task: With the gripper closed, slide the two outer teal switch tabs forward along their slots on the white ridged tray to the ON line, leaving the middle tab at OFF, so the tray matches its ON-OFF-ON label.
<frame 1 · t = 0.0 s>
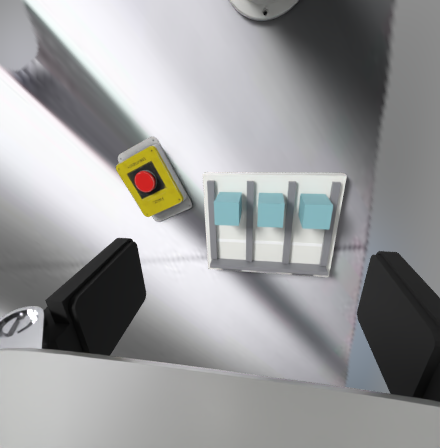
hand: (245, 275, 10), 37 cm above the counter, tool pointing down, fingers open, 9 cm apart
tab 1: (228, 208, 43), point 5 cm above the counter, slide at 0.0 cm
tab 3: (314, 210, 41), point 5 cm above the counter, slide at 0.0 cm
emergency button: (157, 181, 50), on the counter
tab 2: (270, 209, 42), point 5 cm above the counter, slide at 0.0 cm
white ridged tray: (268, 223, 49), on the counter
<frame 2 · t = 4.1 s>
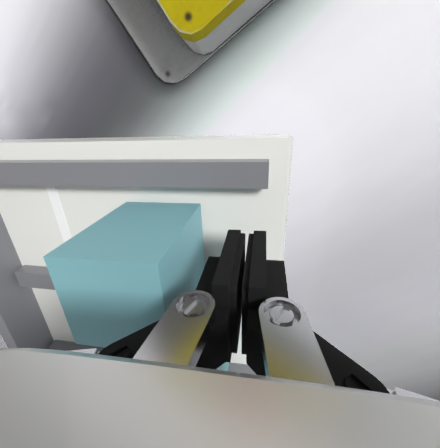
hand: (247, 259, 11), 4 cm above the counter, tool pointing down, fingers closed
tab 1: (145, 265, 11), point 5 cm above the counter, slide at 1.3 cm, touching gripper
tab 2: (186, 374, 14), point 5 cm above the counter, slide at 0.0 cm
white ridged tray: (143, 301, 19), on the counter
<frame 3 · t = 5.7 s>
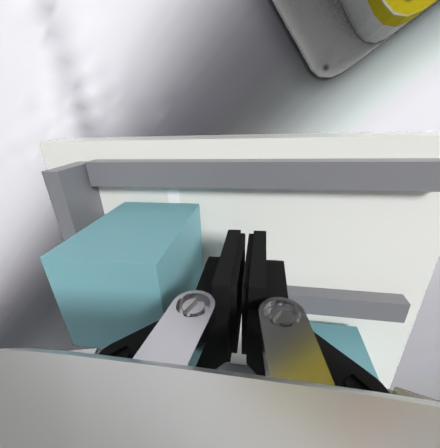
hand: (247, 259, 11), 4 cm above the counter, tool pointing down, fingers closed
tab 1: (143, 265, 11), point 5 cm above the counter, slide at 8.5 cm, touching gripper
tab 2: (324, 394, 13), point 5 cm above the counter, slide at 0.0 cm
white ridged tray: (236, 310, 18), on the counter
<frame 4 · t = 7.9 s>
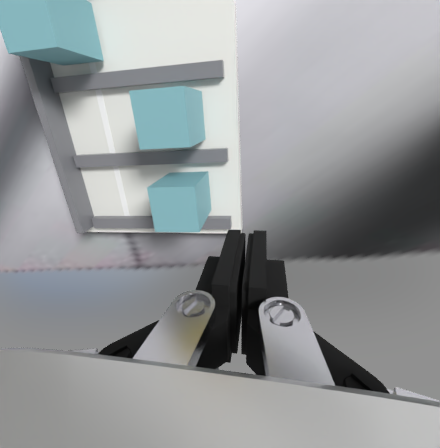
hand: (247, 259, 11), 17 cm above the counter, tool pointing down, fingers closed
tab 1: (52, 26, 19), point 5 cm above the counter, slide at 8.6 cm
tab 3: (183, 199, 23), point 5 cm above the counter, slide at 0.0 cm
tab 2: (172, 118, 21), point 5 cm above the counter, slide at 0.0 cm
white ridged tray: (142, 120, 26), on the counter
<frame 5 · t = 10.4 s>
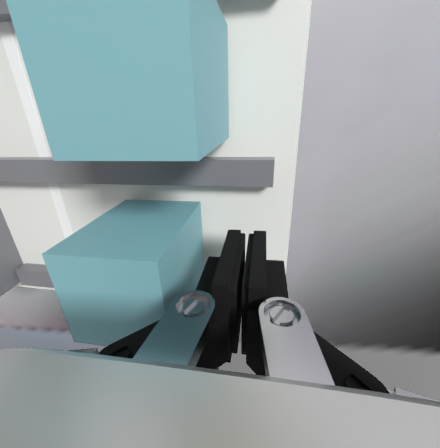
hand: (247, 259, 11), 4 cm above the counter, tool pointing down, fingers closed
tab 3: (144, 263, 11), point 5 cm above the counter, slide at 1.5 cm, touching gripper
tab 2: (154, 81, 8), point 5 cm above the counter, slide at 0.0 cm
white ridged tray: (105, 95, 14), on the counter
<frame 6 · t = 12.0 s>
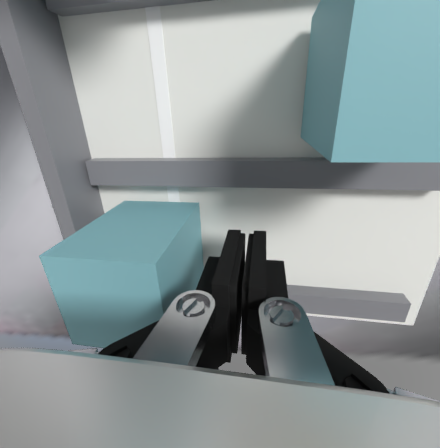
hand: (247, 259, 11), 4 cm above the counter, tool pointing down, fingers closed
tab 3: (143, 264, 11), point 5 cm above the counter, slide at 8.5 cm, touching gripper
tab 2: (396, 69, 7), point 5 cm above the counter, slide at 0.0 cm
white ridged tray: (235, 90, 12), on the counter
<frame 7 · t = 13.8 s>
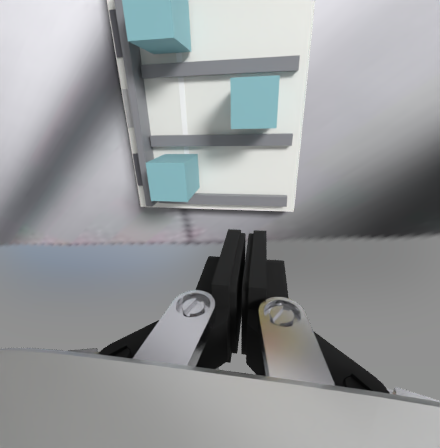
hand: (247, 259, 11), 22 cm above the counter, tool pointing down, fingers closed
tab 1: (159, 19, 22), point 5 cm above the counter, slide at 8.6 cm
tab 3: (175, 176, 28), point 5 cm above the counter, slide at 8.6 cm
tab 2: (254, 104, 24), point 5 cm above the counter, slide at 0.0 cm
white ridged tray: (212, 106, 29), on the counter
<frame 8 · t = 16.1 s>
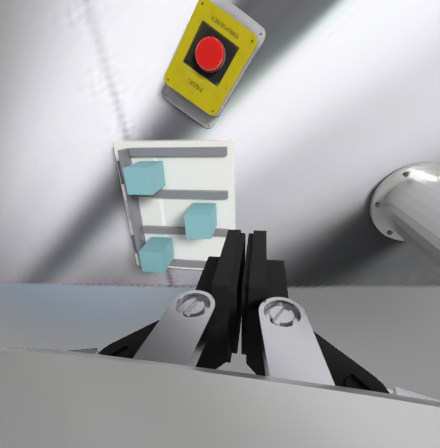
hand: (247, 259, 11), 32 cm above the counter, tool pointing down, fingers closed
tab 1: (145, 177, 40), point 5 cm above the counter, slide at 8.6 cm
tab 3: (157, 254, 45), point 5 cm above the counter, slide at 8.6 cm
emergency button: (211, 67, 37), on the counter
tab 2: (201, 220, 41), point 5 cm above the counter, slide at 0.0 cm
white ridged tray: (181, 207, 46), on the counter
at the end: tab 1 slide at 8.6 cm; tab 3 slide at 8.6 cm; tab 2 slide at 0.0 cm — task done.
